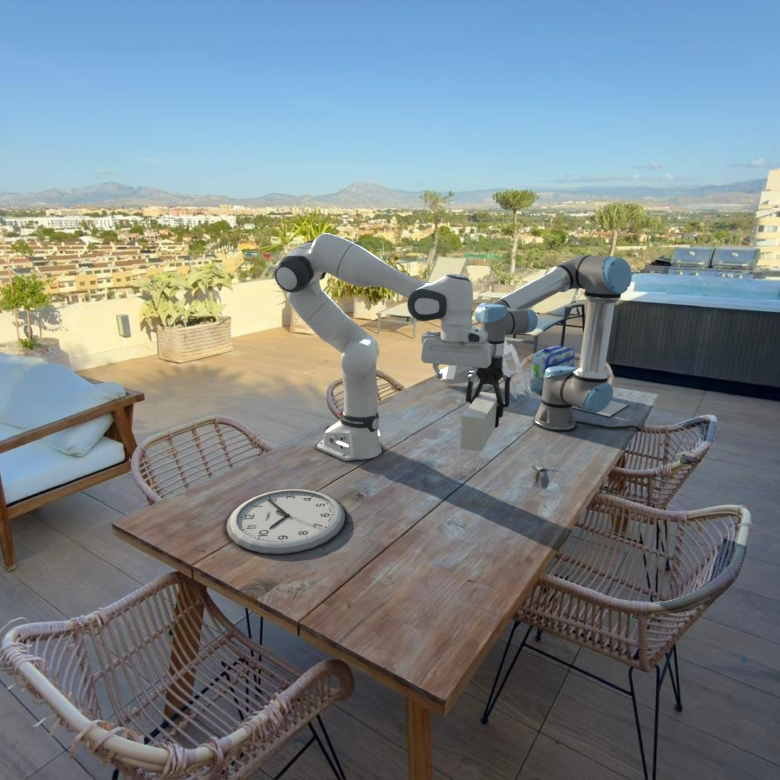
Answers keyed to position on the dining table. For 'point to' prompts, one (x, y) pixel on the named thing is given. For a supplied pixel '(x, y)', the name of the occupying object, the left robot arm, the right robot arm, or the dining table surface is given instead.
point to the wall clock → (285, 521)
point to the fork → (538, 469)
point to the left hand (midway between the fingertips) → (455, 379)
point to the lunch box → (549, 364)
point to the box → (479, 422)
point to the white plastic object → (460, 375)
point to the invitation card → (610, 408)
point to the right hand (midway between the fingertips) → (485, 424)
